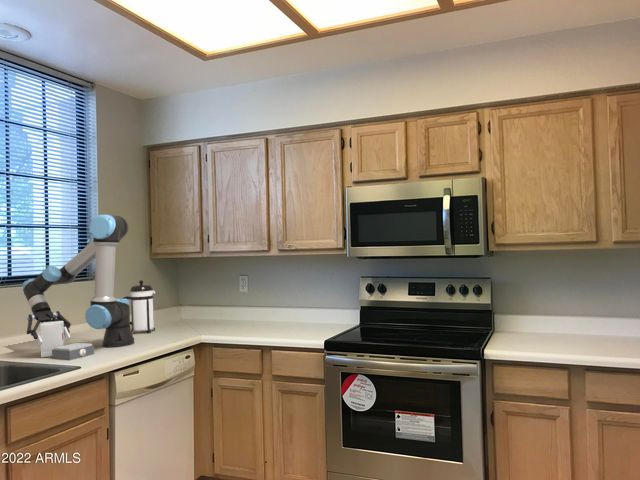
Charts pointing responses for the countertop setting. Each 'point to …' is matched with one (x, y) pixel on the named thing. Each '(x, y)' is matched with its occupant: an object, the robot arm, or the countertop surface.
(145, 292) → the coffee press
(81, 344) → the kitchen scale
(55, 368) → the countertop surface
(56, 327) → the supplement box
